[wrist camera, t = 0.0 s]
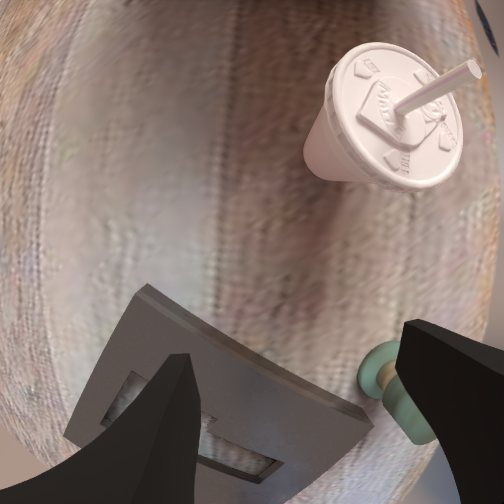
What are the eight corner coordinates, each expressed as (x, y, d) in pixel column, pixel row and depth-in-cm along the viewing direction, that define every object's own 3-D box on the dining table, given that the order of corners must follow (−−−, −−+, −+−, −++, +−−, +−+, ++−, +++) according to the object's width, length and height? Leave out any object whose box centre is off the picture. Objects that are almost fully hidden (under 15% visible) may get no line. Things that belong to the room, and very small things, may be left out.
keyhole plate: (253, 502, 22) (256, 521, 19) (74, 418, 20) (62, 435, 17) (361, 407, 21) (374, 426, 18) (147, 283, 19) (134, 294, 16)
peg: (382, 399, 21) (427, 454, 13) (345, 380, 21) (389, 443, 13) (418, 355, 21) (475, 399, 13) (385, 330, 20) (446, 377, 12)
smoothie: (270, 119, 18) (345, -36, 4) (355, 105, 18) (489, 5, 4) (298, 211, 19) (449, 208, 5) (381, 189, 19) (555, 172, 5)
